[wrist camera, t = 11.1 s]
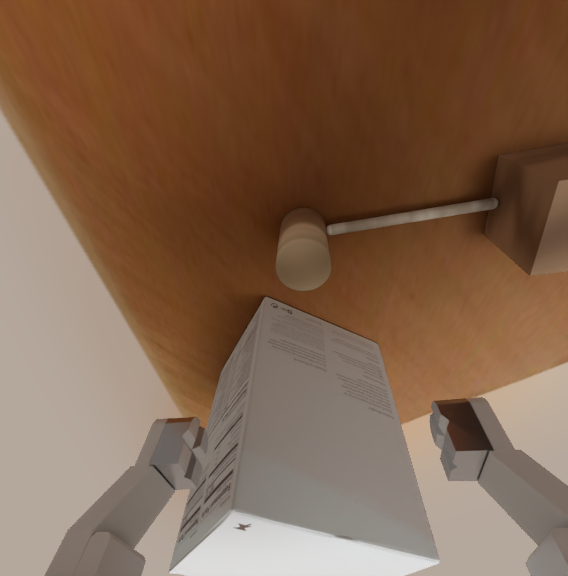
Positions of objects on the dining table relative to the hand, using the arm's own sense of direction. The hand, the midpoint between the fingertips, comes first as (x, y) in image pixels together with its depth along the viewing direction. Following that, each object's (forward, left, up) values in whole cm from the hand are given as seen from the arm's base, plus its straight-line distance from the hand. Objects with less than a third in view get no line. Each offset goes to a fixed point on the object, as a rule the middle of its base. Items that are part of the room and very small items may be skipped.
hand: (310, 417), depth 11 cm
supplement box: (+16, -4, -17) cm, 23 cm away
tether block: (0, +9, -17) cm, 19 cm away
